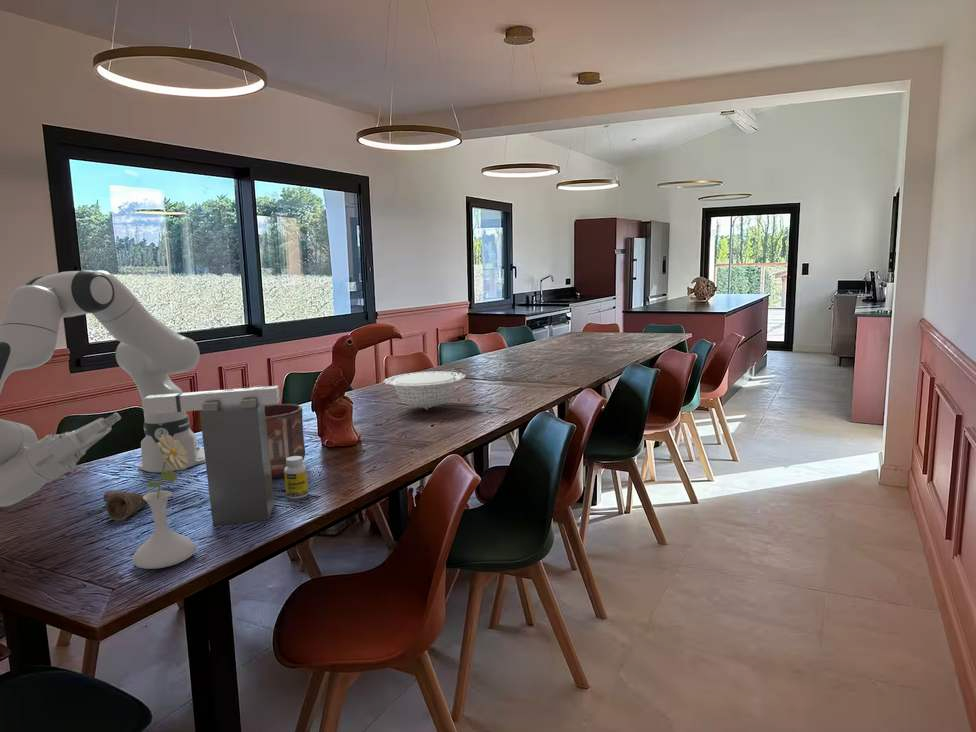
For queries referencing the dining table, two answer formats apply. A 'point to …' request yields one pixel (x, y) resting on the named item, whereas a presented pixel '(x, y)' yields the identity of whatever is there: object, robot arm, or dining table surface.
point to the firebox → (237, 462)
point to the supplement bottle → (295, 478)
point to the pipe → (123, 504)
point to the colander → (425, 386)
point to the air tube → (209, 399)
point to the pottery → (284, 435)
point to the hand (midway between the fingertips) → (110, 419)
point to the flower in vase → (164, 516)
